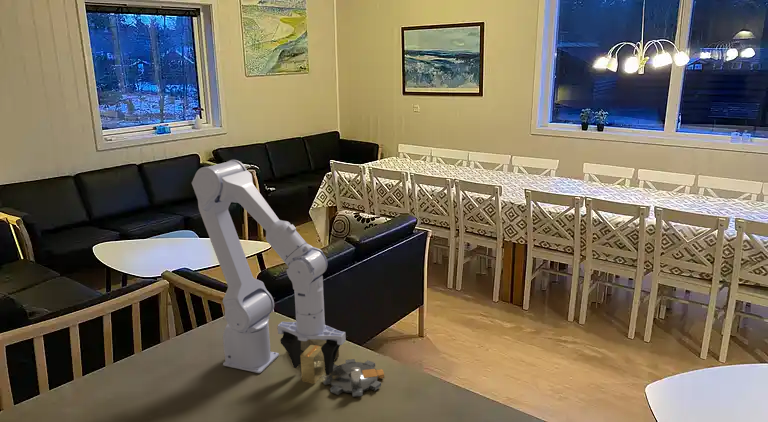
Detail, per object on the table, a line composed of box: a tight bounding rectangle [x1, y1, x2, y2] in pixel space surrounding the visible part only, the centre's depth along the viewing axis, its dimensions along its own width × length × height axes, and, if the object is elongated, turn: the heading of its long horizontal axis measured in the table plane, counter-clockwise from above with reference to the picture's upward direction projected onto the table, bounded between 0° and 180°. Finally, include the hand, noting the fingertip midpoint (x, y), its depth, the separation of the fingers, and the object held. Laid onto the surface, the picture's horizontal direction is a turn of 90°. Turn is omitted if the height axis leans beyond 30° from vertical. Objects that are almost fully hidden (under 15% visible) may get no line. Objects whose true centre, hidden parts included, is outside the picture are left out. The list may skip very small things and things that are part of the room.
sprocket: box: [322, 358, 385, 398], centre depth 111 cm, size 12×12×4 cm
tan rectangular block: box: [300, 345, 326, 385], centre depth 113 cm, size 3×4×6 cm, turn 160°
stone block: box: [301, 339, 340, 364], centre depth 123 cm, size 6×12×5 cm, turn 35°
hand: (313, 368), depth 113 cm, fingers open, 7 cm apart
